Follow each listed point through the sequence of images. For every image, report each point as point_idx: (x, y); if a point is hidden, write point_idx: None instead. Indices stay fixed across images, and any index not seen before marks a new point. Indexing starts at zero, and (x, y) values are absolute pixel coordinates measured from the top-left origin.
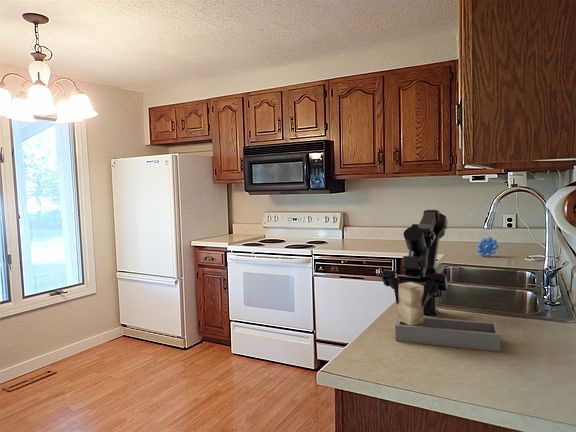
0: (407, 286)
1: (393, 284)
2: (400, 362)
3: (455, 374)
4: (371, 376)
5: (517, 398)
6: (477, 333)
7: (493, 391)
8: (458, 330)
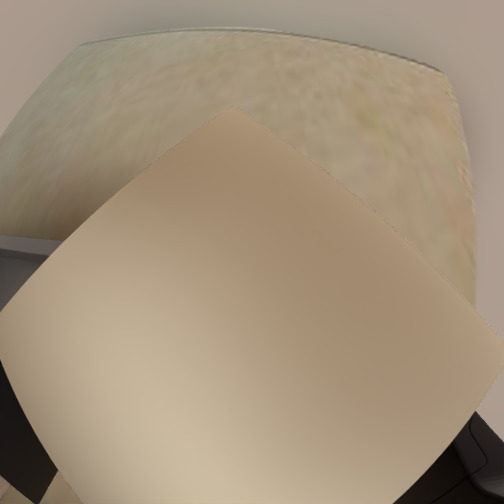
0: (302, 177)
1: None
2: (299, 111)
3: (162, 91)
4: (353, 56)
5: (96, 63)
6: (14, 237)
7: (119, 65)
8: (54, 250)
